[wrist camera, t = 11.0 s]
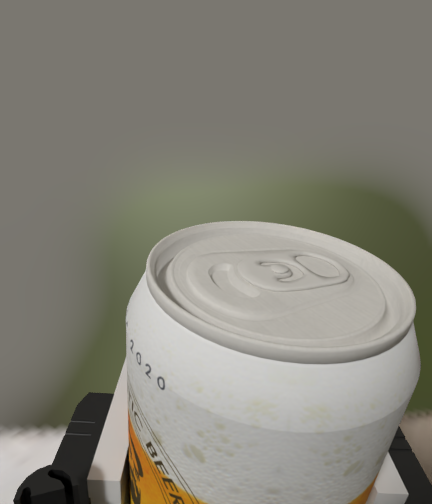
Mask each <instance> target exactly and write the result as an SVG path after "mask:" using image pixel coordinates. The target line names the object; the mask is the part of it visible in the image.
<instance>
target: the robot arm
mask: <svg viewBox="0 0 432 504" xmlns="http://www.w3.org/2000/svg"><path fill="white" fill-rule="evenodd" d="M13 501H14V504H130V486H129V439H128V393H127V356H126V359H125V363H124V366H123V369H122V372H121V375H120V378H119V381H118V384H117V387H116V391H115V393H114V394H107V393H88V394H87V396H85V397H84V398H83V400H82V401H81V402H80V403H79V404H78V405H77V407H76V410H75V412H74V414H73V416H72V419H71V422H70V423H69V426H68V428H67V430H66V434H65V436H64V437H63V440H62V442H61V444H60V447H59V449H58V451H57V454H56V456H55V459H54V461H53V463H52V465H48V466H46V467H43V468H40V469H38V470H36V471H35V472H34V473H32V474H31V475H30V476H28V477H27V478H26V479H25V480H24V481H23V483H22V484H21V485H20V487H19V488H18V490H17V492H16V495H15V498H14V500H13ZM366 504H432V485H431V483H430V482H429V480H428V478H427V476H426V474H425V473H424V471H423V469H422V467H421V465H420V463H419V462H418V460H417V458H416V456H415V454H414V453H412V449H411V447H410V445H409V443H408V442H407V440H405V436H404V434H403V433H402V431H401V429H400V427H399V426H398V429H397V431H396V434H395V436H394V438H393V441H392V443H391V445H390V448H389V450H388V452H387V455H386V457H385V459H384V462H383V464H382V466H381V469H380V471H379V473H378V476H377V478H376V480H375V483H374V485H373V487H372V490H371V492H370V494H369V497H368V499H367V502H366Z"/></svg>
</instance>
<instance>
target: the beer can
mask: <svg viewBox="0 0 432 504" xmlns="http://www.w3.org/2000/svg"><path fill="white" fill-rule="evenodd" d="M415 311H416V303H415V298H414V295H413V292H412V290H411V289H410V287H409V285H408V284H407V283H406V281H405V280H404V279H403V277H402V276H401V275H399V274H398V273H397V272H396V271H395V270H394V269H393V268H392V267H390V266H389V265H388V264H387V263H385V262H384V261H382V260H381V259H379V258H378V257H376V256H374V255H372V254H371V253H369V252H367V251H365V250H363V249H361V248H359V247H357V246H355V245H352V244H350V243H348V242H345V241H343V240H340V239H338V238H335V237H332V236H329V235H326V234H322V233H319V232H315V231H311V230H308V229H303V228H299V227H294V226H289V225H283V224H275V223H267V222H253V221H226V222H215V223H206V224H201V225H196V226H192V227H188V228H185V229H182V230H179V231H177V232H174V233H172V234H170V235H168V236H167V237H165V238H163V239H162V240H161V241H159V242H158V243H157V244H156V245H155V246H154V247H153V249H152V250H151V252H150V254H149V257H148V259H147V265H146V271H145V273H144V275H143V277H142V278H141V280H140V282H139V284H138V286H137V287H136V289H135V291H134V293H133V295H132V296H131V298H130V301H129V304H128V307H127V313H126V345H127V393H128V439H129V486H130V504H366V502H367V499H368V497H369V494H370V492H371V490H372V487H373V485H374V483H375V480H376V478H377V476H378V473H379V471H380V469H381V466H382V464H383V462H384V459H385V457H386V455H387V452H388V450H389V448H390V445H391V443H392V441H393V438H394V436H395V434H396V431H397V429H398V426H399V424H400V422H401V419H402V417H403V415H404V412H405V410H406V408H407V405H408V403H409V401H410V398H411V396H412V394H413V391H414V389H415V386H416V384H417V381H418V379H419V374H420V366H421V365H420V354H419V349H418V344H417V339H416V334H415V329H414V324H413V320H414V316H415Z"/></svg>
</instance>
